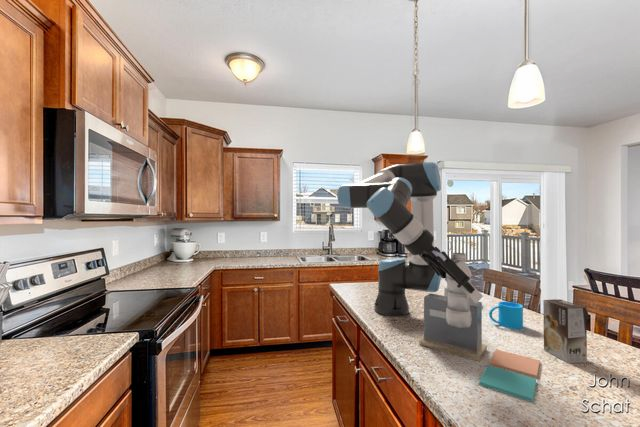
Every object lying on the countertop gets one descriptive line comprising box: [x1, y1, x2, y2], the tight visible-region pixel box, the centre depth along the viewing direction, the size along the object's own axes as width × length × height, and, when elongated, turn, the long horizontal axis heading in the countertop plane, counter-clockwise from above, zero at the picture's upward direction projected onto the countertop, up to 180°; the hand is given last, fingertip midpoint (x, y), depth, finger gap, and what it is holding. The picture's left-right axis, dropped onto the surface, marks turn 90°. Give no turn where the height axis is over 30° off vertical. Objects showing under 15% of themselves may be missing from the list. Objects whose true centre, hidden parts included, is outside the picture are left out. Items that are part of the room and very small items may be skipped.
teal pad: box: [478, 364, 537, 403], centre depth 76 cm, size 11×11×1 cm
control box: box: [418, 293, 488, 362], centre depth 97 cm, size 18×10×16 cm, turn 51°
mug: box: [488, 301, 524, 330], centre depth 118 cm, size 12×8×8 cm
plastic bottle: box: [445, 252, 473, 328], centre depth 82 cm, size 6×7×20 cm
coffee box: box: [542, 298, 588, 364], centre depth 91 cm, size 9×6×16 cm
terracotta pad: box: [488, 348, 541, 380], centre depth 86 cm, size 11×11×1 cm
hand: (470, 295), depth 82 cm, fingers closed on plastic bottle, 6 cm apart
